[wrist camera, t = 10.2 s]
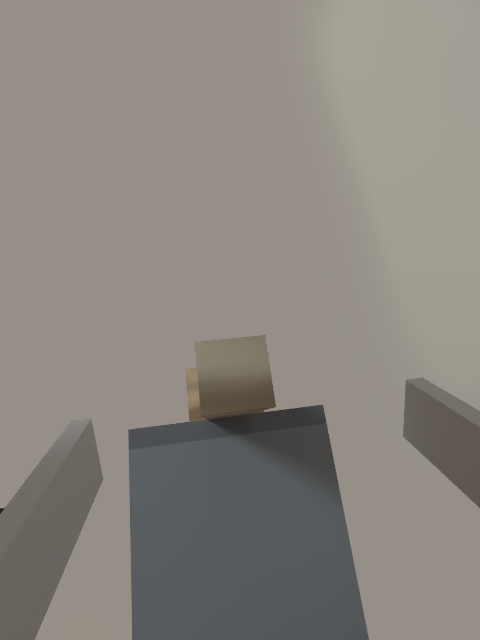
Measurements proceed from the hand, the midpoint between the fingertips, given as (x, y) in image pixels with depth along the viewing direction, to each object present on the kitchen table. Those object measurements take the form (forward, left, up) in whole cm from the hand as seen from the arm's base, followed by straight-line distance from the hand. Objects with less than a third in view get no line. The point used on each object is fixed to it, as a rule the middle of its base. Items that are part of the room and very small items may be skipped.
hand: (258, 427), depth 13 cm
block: (-1, +13, +1) cm, 14 cm away
